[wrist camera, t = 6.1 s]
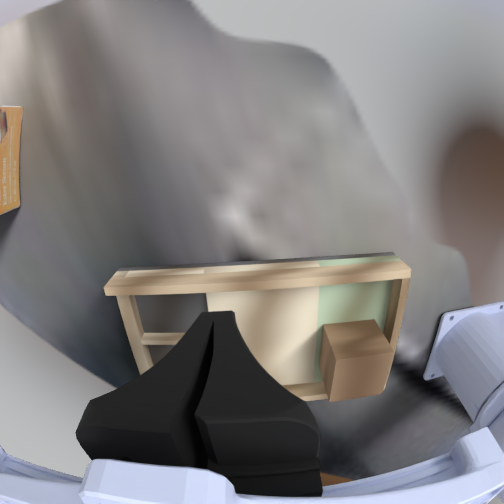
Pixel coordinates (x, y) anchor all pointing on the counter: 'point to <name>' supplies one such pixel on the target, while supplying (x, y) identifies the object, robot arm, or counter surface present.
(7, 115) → the small box
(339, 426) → the counter surface
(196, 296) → the tray
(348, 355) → the walnut block
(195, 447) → the robot arm
